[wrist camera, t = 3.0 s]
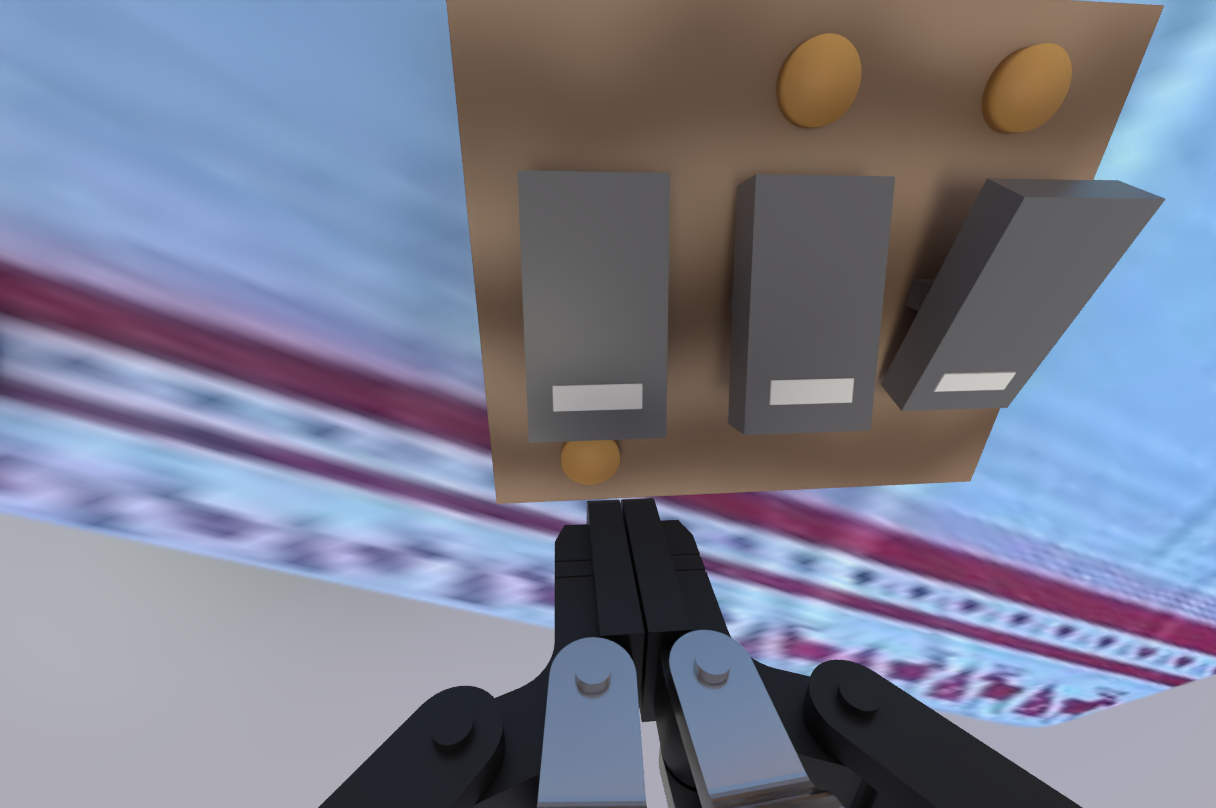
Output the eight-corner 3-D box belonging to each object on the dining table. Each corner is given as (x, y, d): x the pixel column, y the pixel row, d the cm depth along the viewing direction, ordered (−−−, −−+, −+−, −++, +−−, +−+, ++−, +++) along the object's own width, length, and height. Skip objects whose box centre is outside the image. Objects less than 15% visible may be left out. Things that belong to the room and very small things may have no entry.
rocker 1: (521, 183, 16) (517, 169, 14) (659, 185, 16) (670, 172, 15) (531, 430, 17) (528, 443, 16) (656, 426, 18) (666, 438, 16)
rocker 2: (736, 186, 16) (757, 173, 15) (863, 188, 17) (896, 175, 15) (727, 423, 18) (744, 435, 16) (843, 419, 18) (871, 431, 17)
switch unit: (465, 5, 17) (435, -47, 13) (1050, 32, 19) (1199, -4, 15) (504, 454, 25) (494, 518, 21) (915, 438, 27) (985, 493, 23)
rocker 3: (987, 178, 15) (1026, 198, 14) (1118, 180, 16) (1167, 199, 14) (880, 384, 20) (902, 412, 19) (980, 382, 21) (1008, 408, 20)
